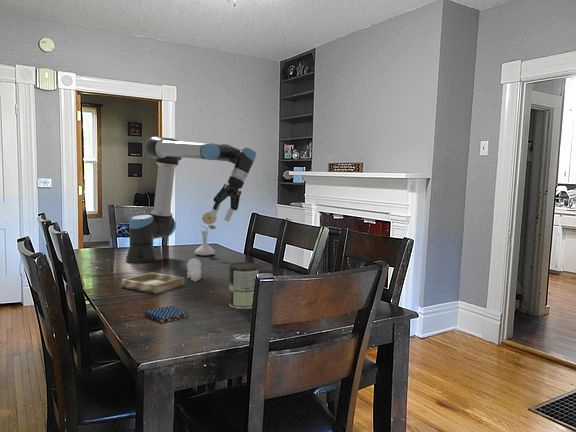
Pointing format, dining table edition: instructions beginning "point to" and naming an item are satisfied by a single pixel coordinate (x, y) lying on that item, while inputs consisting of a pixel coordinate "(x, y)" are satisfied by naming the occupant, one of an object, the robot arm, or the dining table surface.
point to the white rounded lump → (194, 269)
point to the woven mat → (166, 313)
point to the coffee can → (242, 284)
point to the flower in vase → (205, 248)
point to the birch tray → (153, 282)
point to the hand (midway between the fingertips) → (219, 218)
